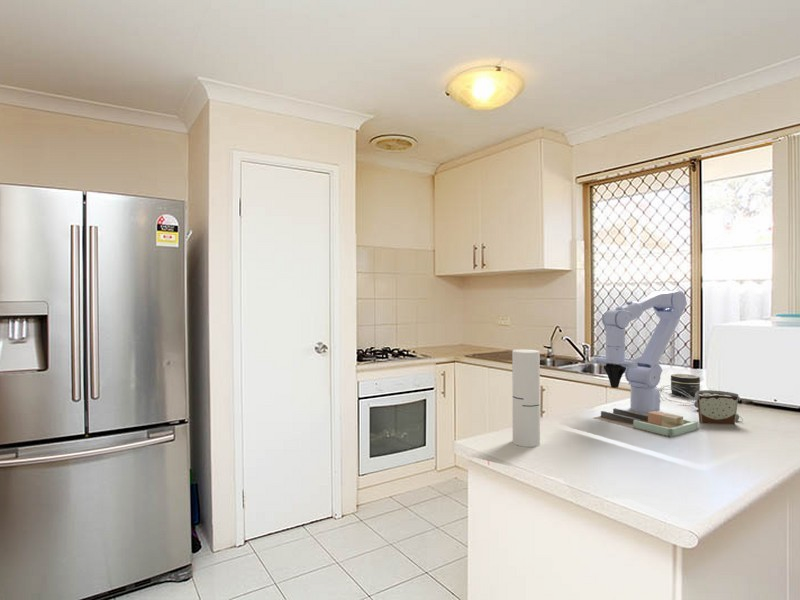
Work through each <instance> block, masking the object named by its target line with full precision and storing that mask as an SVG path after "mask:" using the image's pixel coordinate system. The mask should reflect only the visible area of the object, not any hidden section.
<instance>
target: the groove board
mask: <svg viewBox="0 0 800 600" xmlns="http://www.w3.org/2000/svg"><path fill="white" fill-rule="evenodd" d="M612 412H613V413H612ZM612 412H610V411H609V412H608V411H605V410H601V411H600V415H599V416H596V417H593V419H594V420H599V421H603V422H607V423H609V424H610V423H611V424H615V425H619V426H622V427H626V428H629V429H633V430H638V431H642V432H647V433H648V434H649V433H650V434H653V435H654V434H655V435H658V436H662V437H665V438H669V439H670V438H671V437H670V436H666V435H662V434H658V433H654V432H650V431H646V430H642V429H638V428H634V427H633V420H637V421H642V422H646V423H648V414H643V413H639V412H638V413H637V412H633V411H628V410H624V409H620V408H613V409H612ZM699 429H700V428H699V427H698V429H696V430H699ZM696 430H695V431H696ZM690 432H691V431H689V432H686V433H690ZM686 433H685V434H686ZM680 435H681V434H679V435H676V436H680ZM676 436H675V437H676Z"/></svg>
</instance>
